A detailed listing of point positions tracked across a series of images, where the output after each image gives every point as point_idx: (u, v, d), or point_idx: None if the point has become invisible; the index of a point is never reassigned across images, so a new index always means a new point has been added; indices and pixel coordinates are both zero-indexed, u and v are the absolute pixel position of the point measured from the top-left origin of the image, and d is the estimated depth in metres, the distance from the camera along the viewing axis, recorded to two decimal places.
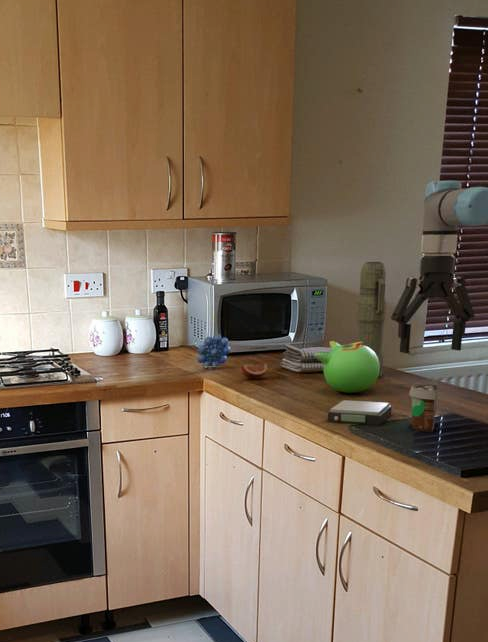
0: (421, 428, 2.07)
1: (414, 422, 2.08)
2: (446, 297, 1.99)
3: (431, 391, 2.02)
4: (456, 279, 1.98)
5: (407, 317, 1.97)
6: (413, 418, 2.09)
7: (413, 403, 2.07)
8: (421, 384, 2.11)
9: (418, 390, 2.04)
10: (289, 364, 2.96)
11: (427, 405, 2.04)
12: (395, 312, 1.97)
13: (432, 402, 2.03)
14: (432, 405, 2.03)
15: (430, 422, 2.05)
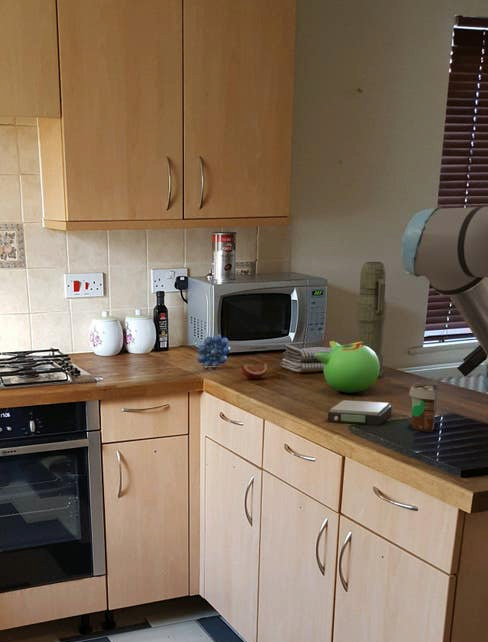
0: (421, 428, 2.07)
1: (414, 422, 2.08)
2: None
3: (431, 391, 2.02)
4: None
5: None
6: (413, 418, 2.09)
7: (413, 403, 2.07)
8: (421, 384, 2.11)
9: (418, 390, 2.04)
10: (289, 364, 2.96)
11: (427, 405, 2.04)
12: None
13: (432, 402, 2.03)
14: (432, 405, 2.03)
15: (430, 422, 2.05)
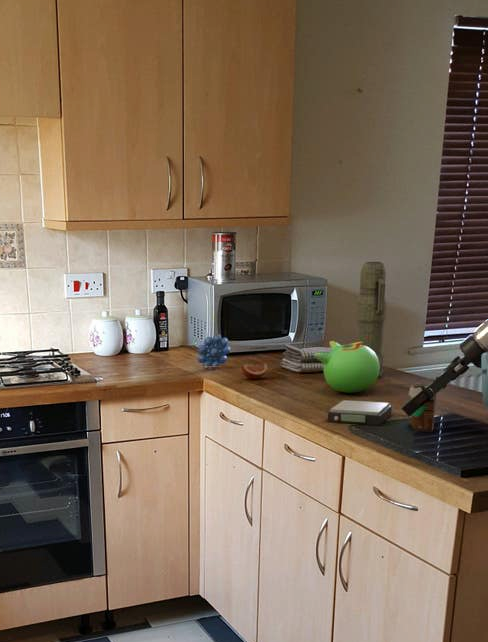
0: (421, 428, 2.07)
1: (414, 422, 2.08)
2: None
3: None
4: None
5: None
6: (413, 418, 2.09)
7: None
8: (420, 384, 2.11)
9: (418, 390, 2.04)
10: (289, 364, 2.96)
11: (427, 405, 2.04)
12: None
13: (432, 402, 2.03)
14: (432, 405, 2.03)
15: (429, 422, 2.05)
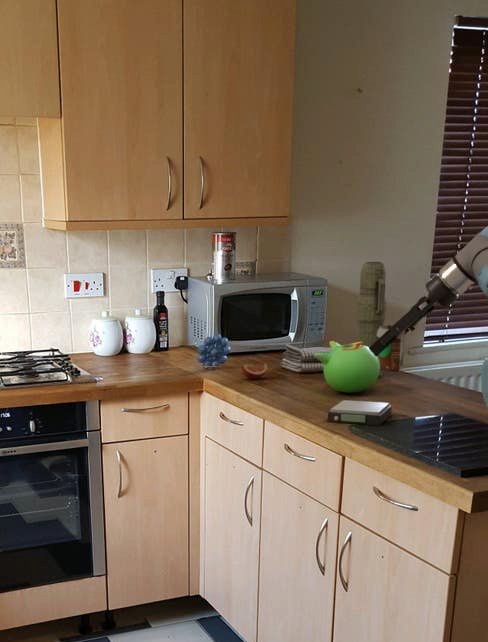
0: (388, 368, 2.09)
1: (381, 363, 2.10)
2: None
3: None
4: None
5: None
6: (380, 359, 2.11)
7: None
8: None
9: (385, 330, 2.06)
10: (289, 364, 2.96)
11: (393, 345, 2.06)
12: None
13: (398, 342, 2.05)
14: (398, 345, 2.05)
15: (396, 362, 2.07)
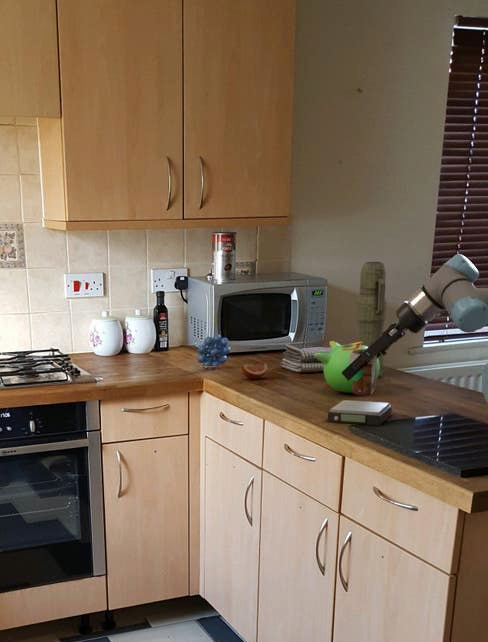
0: (360, 392, 2.15)
1: (354, 387, 2.17)
2: None
3: None
4: (394, 328, 2.06)
5: None
6: (353, 383, 2.17)
7: None
8: None
9: (357, 355, 2.13)
10: (289, 364, 2.96)
11: (365, 369, 2.12)
12: None
13: (370, 366, 2.11)
14: (370, 369, 2.12)
15: (368, 386, 2.13)
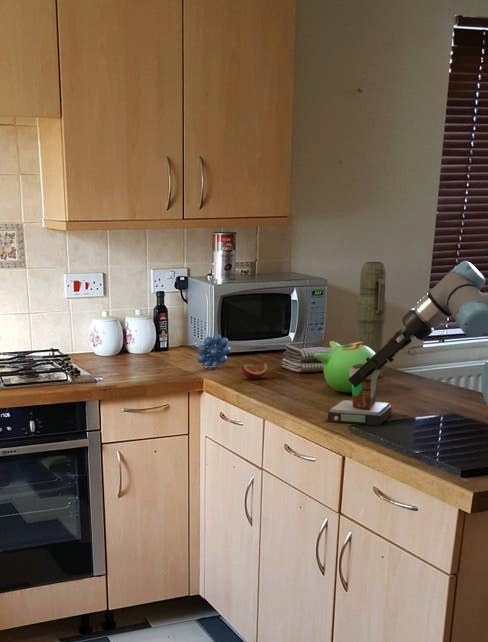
0: (360, 407, 2.16)
1: (354, 401, 2.18)
2: None
3: None
4: None
5: None
6: (353, 397, 2.18)
7: None
8: (362, 365, 2.21)
9: (356, 370, 2.14)
10: (289, 364, 2.96)
11: (364, 384, 2.13)
12: None
13: (369, 382, 2.12)
14: (369, 384, 2.13)
15: (367, 401, 2.15)
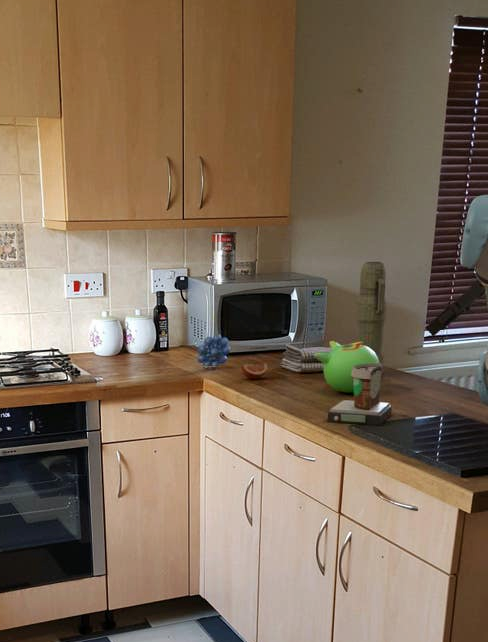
0: (360, 407, 2.16)
1: (355, 401, 2.18)
2: None
3: (367, 371, 2.11)
4: None
5: None
6: (354, 397, 2.19)
7: (354, 383, 2.17)
8: (365, 365, 2.21)
9: (356, 370, 2.14)
10: (289, 364, 2.96)
11: (364, 384, 2.13)
12: None
13: (368, 381, 2.12)
14: (368, 384, 2.13)
15: (367, 401, 2.14)
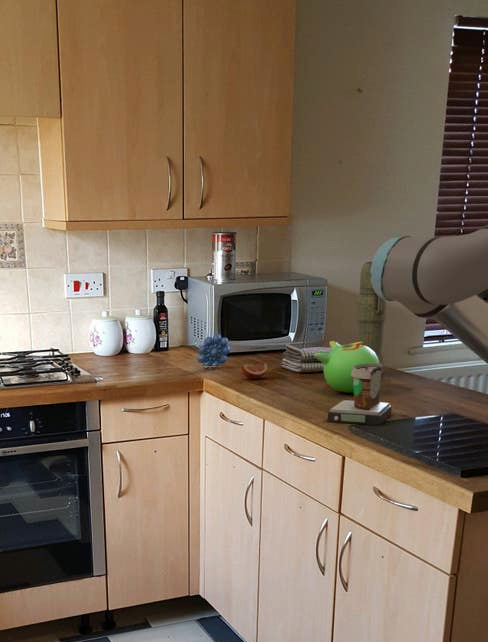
0: (360, 407, 2.16)
1: (355, 401, 2.18)
2: None
3: (367, 371, 2.11)
4: None
5: None
6: (354, 397, 2.19)
7: (354, 383, 2.17)
8: (365, 365, 2.21)
9: (356, 370, 2.14)
10: (289, 364, 2.96)
11: (364, 384, 2.13)
12: None
13: (368, 381, 2.12)
14: (368, 384, 2.13)
15: (367, 401, 2.14)
